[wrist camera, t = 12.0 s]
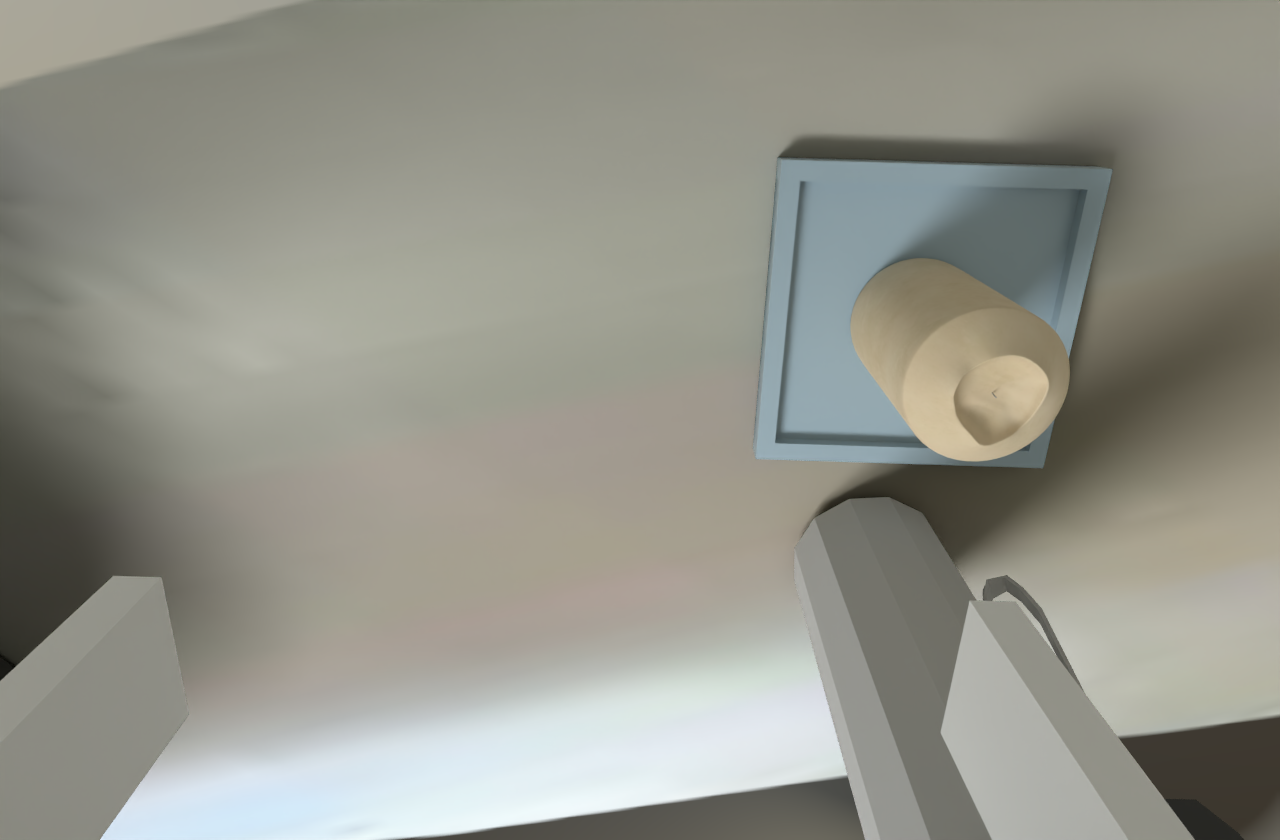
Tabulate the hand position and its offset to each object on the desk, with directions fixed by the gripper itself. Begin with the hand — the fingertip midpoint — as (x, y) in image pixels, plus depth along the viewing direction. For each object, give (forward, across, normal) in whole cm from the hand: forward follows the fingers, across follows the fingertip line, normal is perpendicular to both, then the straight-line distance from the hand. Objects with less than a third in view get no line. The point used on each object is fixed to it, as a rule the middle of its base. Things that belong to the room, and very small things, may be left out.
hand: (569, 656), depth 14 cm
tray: (+24, +13, 0) cm, 27 cm away
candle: (+23, +13, 0) cm, 27 cm away
